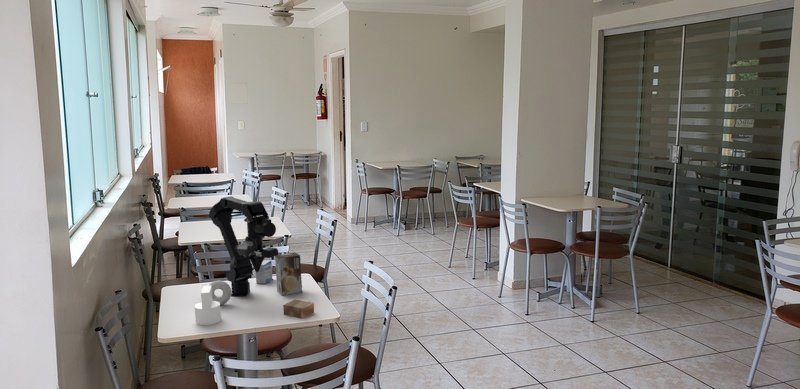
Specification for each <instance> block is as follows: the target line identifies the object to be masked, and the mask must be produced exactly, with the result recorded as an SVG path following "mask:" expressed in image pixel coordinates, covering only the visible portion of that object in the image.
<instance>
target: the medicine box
mask: <svg viewBox="0 0 800 389" xmlns="http://www.w3.org/2000/svg"><path fill="white" fill-rule="evenodd" d="M272 266H273V264H272V260H268V259H267V260H265V259H264V260H263V262H262V264H261V267H260V269H259V271H258V272H255V282H256V284H259V285H261V284H262V285H266V284H267V283H268V282H270V281H271V280H273V270H272V269H273V268H272Z"/></svg>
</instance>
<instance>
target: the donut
mask: <svg viewBox="0 0 800 389" xmlns="http://www.w3.org/2000/svg"><path fill="white" fill-rule="evenodd" d="M209 285H212V299H213V301H217V302H219V303H220V306H222V305H225V304H226V303H228V302H229V301H230V299H231V297H232V296H231V294H232V287H231V286H230V284H228V282H226V281H224V280H213V281H212V282H210V283H209V284H208V285H207V286H209ZM216 290H221V291H222V294H221V296H217V295H215V291H216Z"/></svg>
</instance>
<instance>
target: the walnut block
mask: <svg viewBox="0 0 800 389" xmlns="http://www.w3.org/2000/svg"><path fill="white" fill-rule="evenodd" d="M312 314H315V303H314V302H311V301H306V300H301V299H295V298H294V299H293V300H290V301H288V302H286V303H284V304H283V315H284V316H290V317H294V318H299V319H305V318H306V317H308V316H311V315H312Z"/></svg>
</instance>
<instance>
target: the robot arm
mask: <svg viewBox="0 0 800 389" xmlns="http://www.w3.org/2000/svg"><path fill="white" fill-rule="evenodd" d="M234 211H237V212H241V213H242V216H244V217H245V218H244V219H243V221H244V222H246V224H247V225H246V226H247V227H246V230H247V235H246V236H245V238H244V242H242V243H240V244H239V242H238V240H237V236H236V235H235V234H236V233H235V230H234V229H233V226H232V219H233V215H232V213H233V212H234ZM208 214H209V215H208V216H209V218H210V219H211V221H212V224H214V226H216V227H217V228H218V229H219V231H220V233H221V236H222V239H223V241H224V245H225V246H226V249H227V252H228V255H229V257H230V263H229V269H230V270H229V271H228V273H227V275H226V278H227V281H228V282H230V283H231V291H232V294H231V297H232V296H233V297H246V296H247V295H248V294H249V293H251V283H250V282H249V280H250V279H252V276H253V273H254V272H253V271H255V273H256V272H258V271H259V269H260V267H261V264H262V262H263V260H265V258H266V259H270V258H275V256H277V255H280V254H279V249H278V248H277V247H271V246H270V247H267V248H266V245H265V244H264V241H263V240H264V239H265V238H266V237H267V238H272V237H273V236H274V235H275V234H276V232H277V226H276V225H275V223H273V222H272V219H270V216H269V213H268V212H267V210H266V208H265V205H264V204H263V203H262V201H246V200H243V199H240V198H237V197H234V196H223V197H222V198H220V200H218V202H216V203H215V204H214V205H212V207H211V208H210V210H209V212H208Z"/></svg>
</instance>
